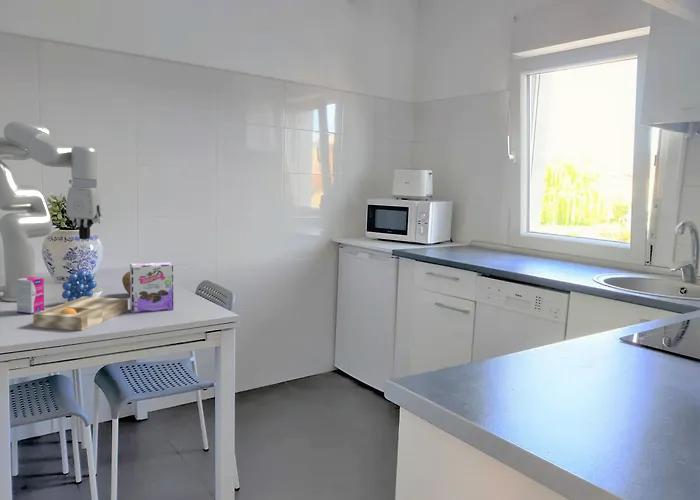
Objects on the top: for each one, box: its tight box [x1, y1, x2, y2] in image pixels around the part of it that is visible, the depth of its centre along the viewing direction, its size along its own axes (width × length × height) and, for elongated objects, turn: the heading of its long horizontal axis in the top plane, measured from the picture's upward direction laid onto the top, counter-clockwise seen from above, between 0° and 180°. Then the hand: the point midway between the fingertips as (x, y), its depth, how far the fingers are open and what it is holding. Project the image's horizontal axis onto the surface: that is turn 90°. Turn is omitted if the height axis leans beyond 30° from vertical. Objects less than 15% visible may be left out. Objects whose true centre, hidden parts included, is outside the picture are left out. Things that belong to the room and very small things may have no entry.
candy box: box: [129, 261, 174, 314], centre depth 185 cm, size 14×6×16 cm, turn 117°
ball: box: [60, 308, 77, 314], centre depth 165 cm, size 5×5×5 cm
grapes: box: [61, 270, 97, 302], centre depth 190 cm, size 12×7×12 cm, turn 134°
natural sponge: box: [121, 270, 130, 295], centre depth 206 cm, size 9×9×10 cm
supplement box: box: [16, 276, 45, 315], centre depth 177 cm, size 6×6×12 cm
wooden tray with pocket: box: [32, 296, 129, 331], centre depth 172 cm, size 16×25×4 cm, turn 172°
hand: (84, 238), depth 178 cm, fingers closed
